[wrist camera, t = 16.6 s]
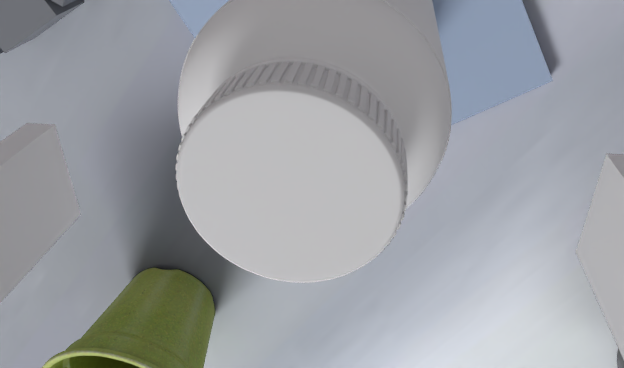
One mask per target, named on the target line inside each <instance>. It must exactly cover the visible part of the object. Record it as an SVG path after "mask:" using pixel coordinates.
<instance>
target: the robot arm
mask: <svg viewBox="0 0 624 368" xmlns="http://www.w3.org/2000/svg"><path fill="white" fill-rule="evenodd" d="M80 215H81V212H80V208H79V205H78V202H77V198H76V195H75V191H74V188H73V184H72V181H71V178H70V174H69V171H68V167H67V164H66V161H65V157H64V154H63V150H62V147H61V143H60V140H59V137H58V133H57V130H56V126H55V124H37V123H26V124H25V125H23V126H22V127H21V128H19V129H18V130H16V131H15V132H13V133H12V134H11V135H9V136H8V137H6V138H5V139H3V140H2V141H1V142H0V303H1V302H2V301H3V300H4V299H5V298H6V297H7V296H8V295H9V293H10V292H11V291H12V290H13V289H14V288H15V287H16V286H17V285H18V283H19V282H20V281H21V280H22V279H23V278H24V277H25V276H26V275H27V274H28V272H29V271H30V270H31V269H32V268H33V267H34V266H35V265H36V264H37V263H38V261H39V260H40V259H41V258H42V257H43V256H44V255H45V254H46V253H47V252H48V250H49V249H50V248H51V247H52V246H53V245H54V244H55V243H56V242H57V240H58V239H59V238H60V237H61V236H62V235H63V234H64V233H65V232H66V231H67V229H68V228H69V227H70V226H71V225H72V224H73V223H74V222H75V221H76V220H77V218H78V217H79V216H80ZM576 254H577V257H578V259H579V261H580V263H581V265H582V268H583V270H584V272H585V274H586V277H587V279H588V281H589V283H590V286H591V288H592V290H593V292H594V295H595V297H596V299H597V301H598V304H599V306H600V308H601V310H602V312H603V315H604V317H605V319H606V321H607V324H608V326H609V328H610V330H611V333H612V335H613V337H614V339H615V342H616V344H617V346H618V353H617V365H618V368H624V154H606V156H605V160H604V163H603V166H602V169H601V172H600V175H599V179H598V182H597V185H596V188H595V191H594V195H593V198H592V201H591V204H590V207H589V210H588V214H587V217H586V220H585V223H584V226H583V229H582V233H581V236H580V239H579V242H578V245H577V249H576Z"/></svg>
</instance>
